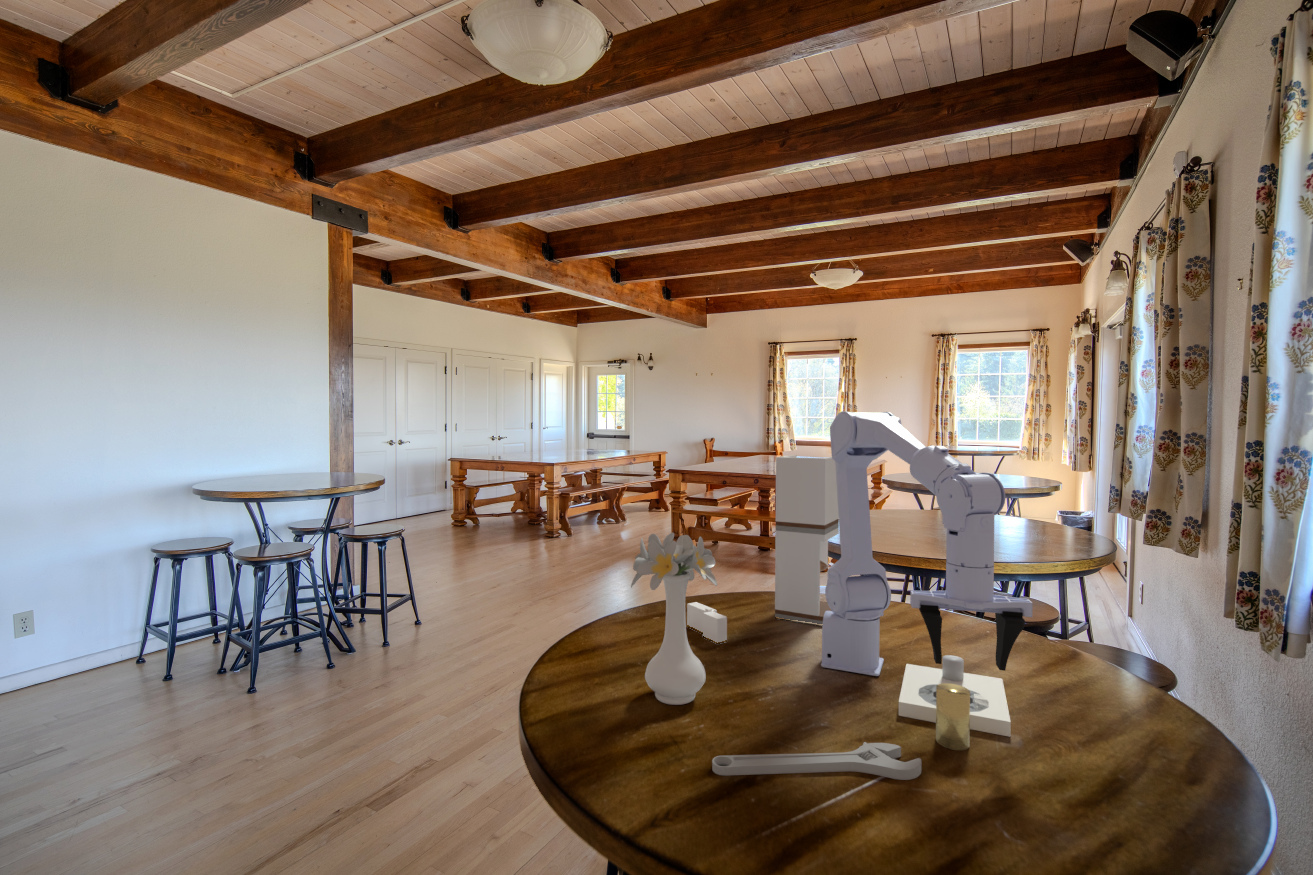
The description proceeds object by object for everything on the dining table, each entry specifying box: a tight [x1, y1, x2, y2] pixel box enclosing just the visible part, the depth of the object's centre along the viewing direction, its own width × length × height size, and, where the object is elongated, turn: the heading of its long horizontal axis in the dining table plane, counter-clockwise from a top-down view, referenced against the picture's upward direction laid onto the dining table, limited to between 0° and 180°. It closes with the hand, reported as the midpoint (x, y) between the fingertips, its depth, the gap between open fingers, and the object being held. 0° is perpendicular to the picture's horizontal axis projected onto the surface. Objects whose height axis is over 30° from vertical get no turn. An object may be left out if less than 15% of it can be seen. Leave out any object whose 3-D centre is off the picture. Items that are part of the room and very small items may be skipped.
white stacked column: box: [774, 454, 840, 624], centre depth 136 cm, size 11×11×35 cm
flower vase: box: [630, 532, 718, 706], centre depth 95 cm, size 13×18×25 cm
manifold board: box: [898, 654, 1012, 738], centre depth 93 cm, size 14×16×5 cm
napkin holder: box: [686, 601, 728, 643], centre depth 123 cm, size 15×11×6 cm
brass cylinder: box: [935, 683, 971, 751], centre depth 81 cm, size 4×4×7 cm
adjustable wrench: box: [711, 741, 922, 781], centre depth 76 cm, size 25×6×2 cm, turn 88°
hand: (968, 664), depth 83 cm, fingers open, 7 cm apart
